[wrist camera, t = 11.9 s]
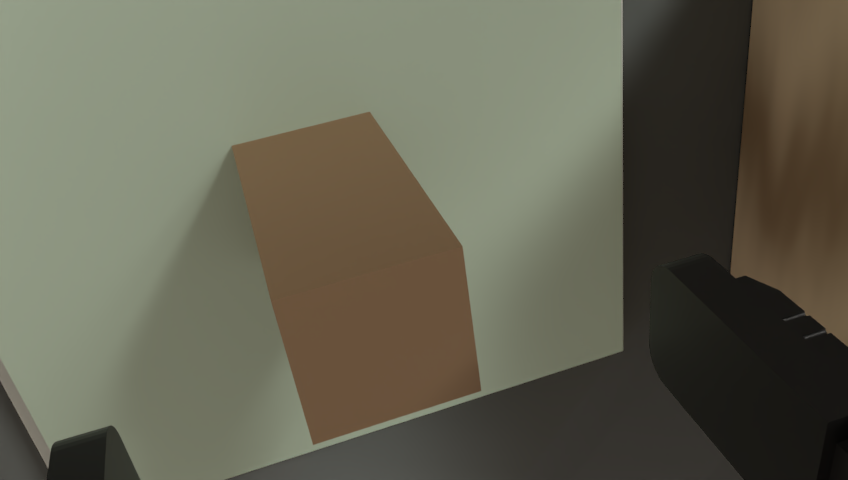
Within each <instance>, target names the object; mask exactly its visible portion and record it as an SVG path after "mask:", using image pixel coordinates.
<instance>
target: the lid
mask: <svg viewBox="0 0 848 480" xmlns="http://www.w3.org/2000/svg"><path fill="white" fill-rule="evenodd" d="M621 351H623V220H622V36H621V0H0V359H1V360H2V362H3V364H4V366H5V368H6V370H7V371H8V373H9V375H10V377H11V379H12V381H13V383H14V384H15V386H16V388H17V390H18V392H19V394H20V396H21V397H22V399H23V401H24V403H25V405H26V407H27V409H28V410H29V412H30V414H31V416H32V418H33V420H34V422H35V423H36V425H37V427H38V429H39V431H40V433H41V434H42V436H43V438H44V440H45V442H46V444H47V446H48V447H49V449H50V451H51V448H52V445H53V443H54V442H56V441H59V440H63V439H66V438H69V437H73V436H76V435H80V434H83V433H86V432H90V431H93V430H97V429H100V428H103V427H107V426H110V425H111V426H114V427H115V429H116V430H117V431H118V433H119V435H120V437H121V439H122V441H123V443H124V446H125V448H126V450H127V452H128V454H129V456H130V458H131V461H132V463H133V465H134V467H135V469H136V471H137V473H138V476H139V478H140V480H225V479H228V478H231V477H234V476H238V475H241V474H244V473H247V472H250V471H253V470H256V469H259V468H262V467H265V466H268V465H272V464H275V463H278V462H281V461H284V460H287V459H290V458H293V457H296V456H299V455H303V454H306V453H309V452H312V451H315V450H318V449H321V448H324V447H327V446H330V445H333V444H337V443H340V442H343V441H346V440H349V439H352V438H355V437H358V436H361V435H364V434H368V433H371V432H374V431H377V430H380V429H383V428H386V427H389V426H392V425H395V424H399V423H402V422H405V421H408V420H411V419H414V418H417V417H420V416H423V415H426V414H429V413H433V412H436V411H439V410H442V409H445V408H448V407H451V406H454V405H457V404H460V403H464V402H467V401H470V400H473V399H476V398H479V397H482V396H485V395H488V394H491V393H495V392H498V391H501V390H504V389H507V388H510V387H513V386H516V385H519V384H522V383H525V382H529V381H532V380H535V379H538V378H541V377H544V376H547V375H550V374H553V373H556V372H560V371H563V370H566V369H569V368H572V367H575V366H578V365H581V364H584V363H587V362H590V361H594V360H597V359H600V358H603V357H606V356H609V355H612V354H615V353H618V352H621Z"/></svg>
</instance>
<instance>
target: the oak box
mask: <svg viewBox="0 0 848 480" xmlns="http://www.w3.org/2000/svg"><path fill="white" fill-rule="evenodd" d="M730 274H731V275H732V276H733V277H735V278H738V277H742V276H748V277H750V278H752V279H755V280H757V281H759V282H762V283H764V284H766V285H769V286H771V287H773V288H776V289H778V290H780V291H781V292H782V293H783V294H785V295H786V296H787V297H788V298H789V299H791V300H792V301H793V302H794V303H795V304H797V305H798V306H799V307H800V308H802V309H803V310H804V311H805V315H806V316H809V315H810V316H811V317H812V318H814V319H815V320H816V321H817V322H818V323H820V324H821V325H822V326H823V327H824V328H826V332H827V333H828V334H829V333H832V334H833V335H834V336H835V337H837V338H838V339H839V340H840V341H841V342H843V343H844V344H845V345H846V346H847V347H848V0H753V7H752V19H751V31H750V43H749V55H748V67H747V79H746V91H745V103H744V115H743V127H742V139H741V151H740V163H739V175H738V186H737V198H736V210H735V222H734V234H733V246H732V258H731V270H730Z"/></svg>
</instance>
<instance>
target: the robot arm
mask: <svg viewBox="0 0 848 480" xmlns="http://www.w3.org/2000/svg"><path fill="white" fill-rule="evenodd" d="M649 347H650V354H651V358H652V361H653V364H654V367H655V369H656V372H657V374H658V376H659V377H660V379H661V381H662V382H663V383H664V385H665V386H666V387H667V388H668V390H669V391H670V392H671V393H672V394H673V396H674V397H675V398H676V399H677V400H678V401H679V403H680V404H681V405H682V406H683V407H684V409H685V410H686V411H687V412H688V413H689V415H690V416H691V417H692V418H693V419H694V421H695V422H696V423H697V424H698V425H699V426H700V428H701V429H702V430H703V431H704V432H705V434H706V435H707V436H708V437H709V438H710V440H711V441H712V442H713V443H714V444H715V446H716V447H717V448H718V449H719V450H720V451H721V453H722V454H723V455H724V456H725V457H726V459H727V460H728V461H729V462H730V463H731V465H732V466H733V467H734V468H735V469H736V471H737V472H738V473H739V474H740V475H741V476H742V478H743V479H744V480H848V347H847V346H846V345H845V344H844V343H843V342H841V341H840V340H839V339H838V338H837V337H835V336H834V335H833V334H832V333H829V334H828V333H827V332H826V328H824V327H823V326H822V325H821V324H820V323H818V322H817V321H816V320H815V319H814V318H812V317H811V316H810V315H809V316H806V315H805V311H804V310H803V309H802V308H800V307H799V306H798V305H797V304H795V303H794V302H793V301H792V300H791V299H789V298H788V297H787V296H786V295H785V294H783V293H782V292H781V291H780V290H778V289H776V288H773V287H771V286H769V285H766V284H764V283H762V282H759V281H757V280H755V279H752V278H750V277H748V276H742V277H738V278H735V277H733V276H732V275H731V274H730V273H729V272H728V271H727V270H725V269H724V268H723V267H722V266H721V265H720V264H718V263H717V262H716V261H715V260H714V259H713V258H711V257H710V256H708V255H706V254H698V255H694V256H691V257H687V258H684V259H681V260H677V261H674V262H670V263H667V264H664V265H660V266H657V267H656V268H655V269H654V270H653V273H652V276H651V302H650V336H649ZM47 480H140V478H139V476H138V473H137V471H136V469H135V467H134V465H133V463H132V461H131V458H130V456H129V454H128V452H127V450H126V448H125V446H124V443H123V441H122V439H121V437H120V435H119V433H118V431H117V430H116V429H115V427H114V426H111V425H110V426H107V427H103V428H100V429H97V430H93V431H90V432H86V433H83V434H80V435H76V436H73V437H69V438H66V439H63V440H59V441H56V442H54V443H53V445H52V448H51V452H50V459H49V467H48V474H47Z"/></svg>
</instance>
